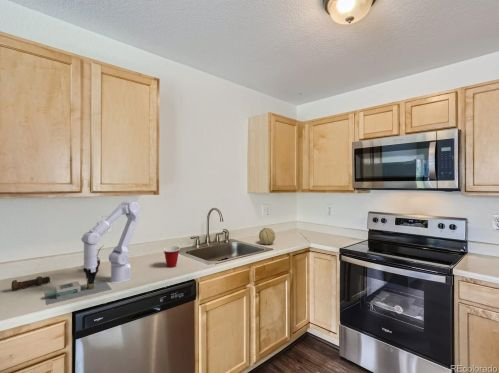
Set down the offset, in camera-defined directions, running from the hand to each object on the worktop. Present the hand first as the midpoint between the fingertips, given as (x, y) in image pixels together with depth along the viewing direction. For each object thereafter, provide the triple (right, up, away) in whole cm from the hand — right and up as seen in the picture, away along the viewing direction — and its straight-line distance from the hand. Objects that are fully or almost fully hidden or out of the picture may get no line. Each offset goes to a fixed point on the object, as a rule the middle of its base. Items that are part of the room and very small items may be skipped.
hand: (90, 282), depth 131 cm
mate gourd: (-15, -3, +28) cm, 32 cm away
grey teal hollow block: (-8, -3, -7) cm, 12 cm away
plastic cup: (+30, -4, +37) cm, 48 cm away
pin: (0, -3, 0) cm, 3 cm away
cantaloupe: (+96, -3, +101) cm, 140 cm away
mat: (-4, -3, -3) cm, 6 cm away
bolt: (-32, -4, +3) cm, 32 cm away
